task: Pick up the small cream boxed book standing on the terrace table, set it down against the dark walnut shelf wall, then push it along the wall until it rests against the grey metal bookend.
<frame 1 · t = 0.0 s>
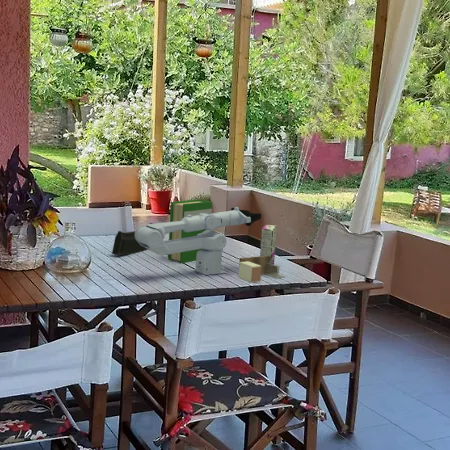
hand: (254, 214, 270), 22 cm above the table, tool horizontal, fingers open, 7 cm apart
hardback book: (188, 259, 284), on the table
bookend: (271, 276, 262), on the table
shelf wall: (254, 274, 262), on the table
magazine: (136, 252, 292), on the table
boxed book: (249, 279, 255), on the table
candy bar box: (266, 267, 279), on the table
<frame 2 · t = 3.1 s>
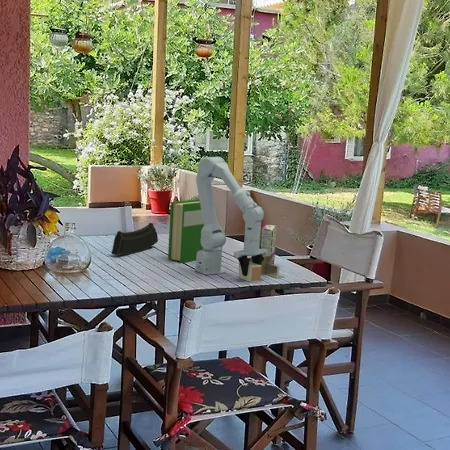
hand: (249, 275, 255), 2 cm above the table, tool pointing down, fingers closed on boxed book, 4 cm apart
boxed book: (249, 279, 255), on the table, touching gripper
everything else where it was.
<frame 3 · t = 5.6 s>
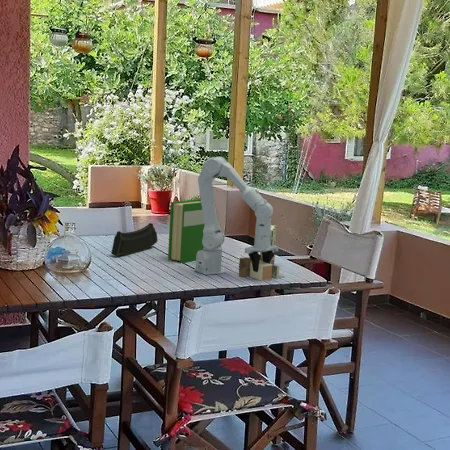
hand: (260, 270, 258), 3 cm above the table, tool pointing down, fingers closed on boxed book, 4 cm apart
boxed book: (260, 278, 258), on the table, touching gripper
everything else where it was.
when the fingers open (3 cm above the table, at t = 5.8 s): boxed book stays where it is, on the table.
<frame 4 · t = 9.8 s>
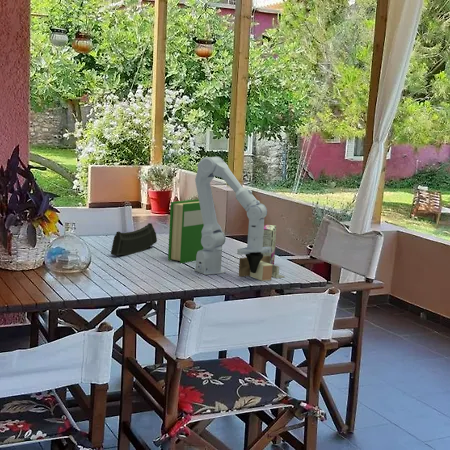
hand: (253, 272, 256), 2 cm above the table, tool pointing down, fingers closed
boxed book: (260, 278, 258), on the table, touching gripper
everything else where it was.
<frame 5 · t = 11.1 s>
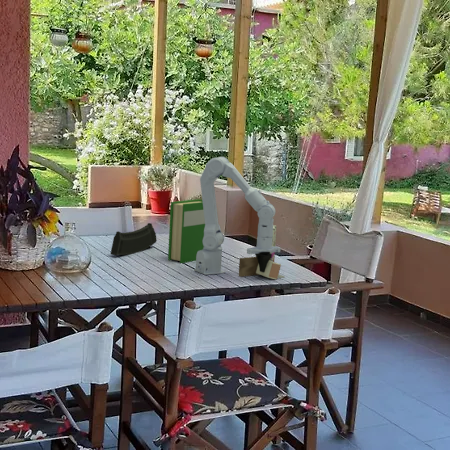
hand: (262, 271, 258), 2 cm above the table, tool pointing down, fingers closed, pressing on boxed book
boxed book: (266, 276, 259), on the table, tilted 15°, touching bookend, gripper
everything else where it was.
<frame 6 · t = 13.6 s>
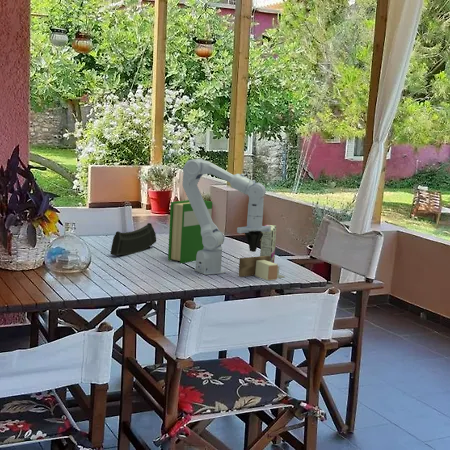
hand: (252, 251, 258), 10 cm above the table, tool pointing down, fingers closed
boxed book: (265, 277, 259), on the table
at the end: boxed book 1.6 cm from the target spot, on the table; boxed book tilted 0°; the gripper is holding nothing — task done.
